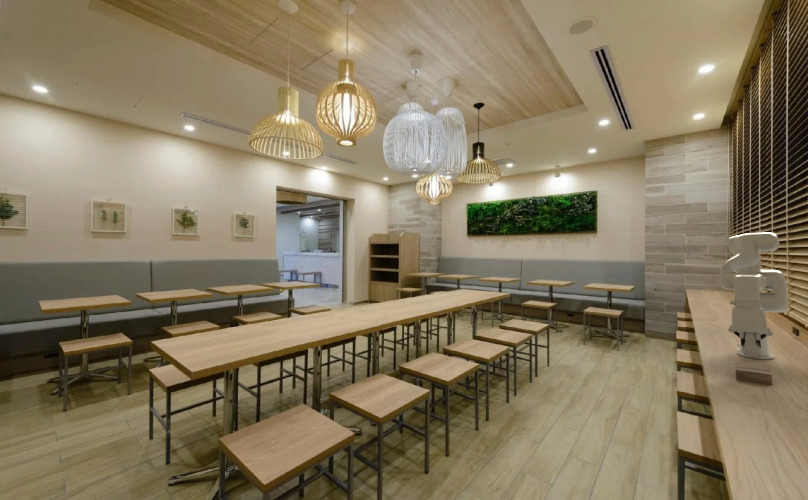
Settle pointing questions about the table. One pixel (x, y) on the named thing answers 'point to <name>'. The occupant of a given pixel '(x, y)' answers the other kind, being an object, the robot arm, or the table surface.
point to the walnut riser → (753, 374)
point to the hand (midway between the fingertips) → (751, 348)
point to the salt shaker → (751, 345)
